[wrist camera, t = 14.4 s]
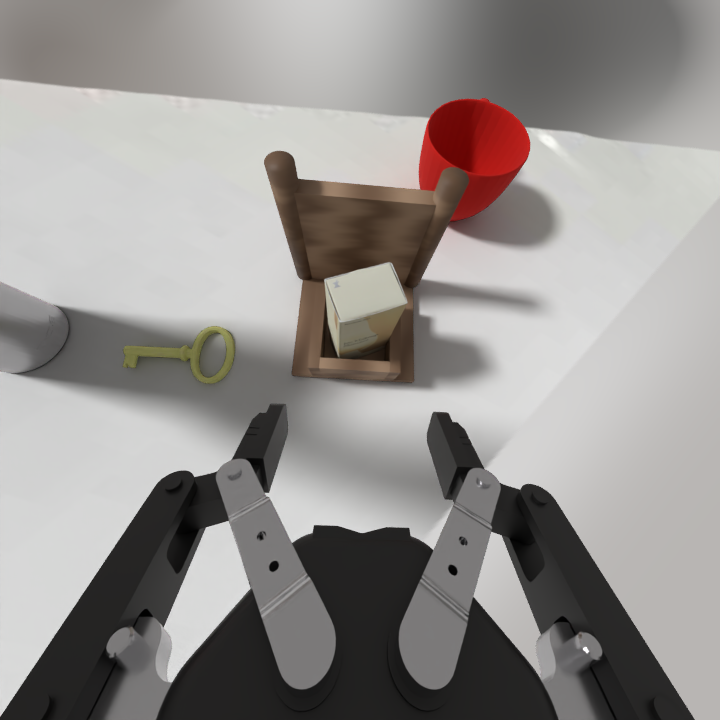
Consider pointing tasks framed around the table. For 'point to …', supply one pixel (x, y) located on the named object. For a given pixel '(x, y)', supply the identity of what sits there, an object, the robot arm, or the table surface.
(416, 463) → the table surface
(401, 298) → the skincare box
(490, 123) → the ceramic cup
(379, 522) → the table surface
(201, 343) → the key
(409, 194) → the headboard stand
